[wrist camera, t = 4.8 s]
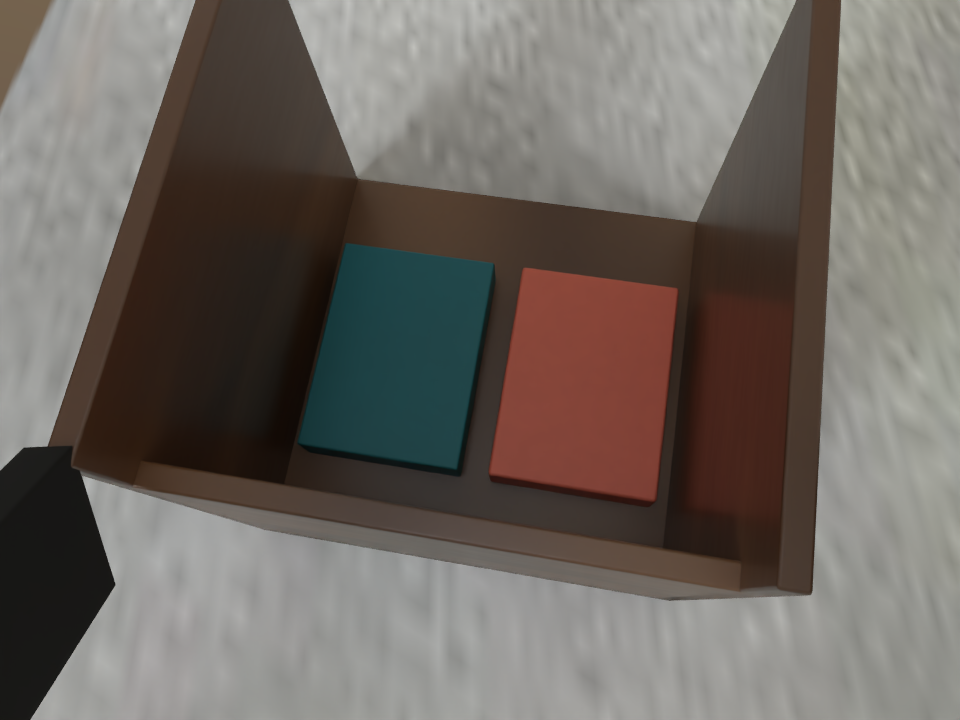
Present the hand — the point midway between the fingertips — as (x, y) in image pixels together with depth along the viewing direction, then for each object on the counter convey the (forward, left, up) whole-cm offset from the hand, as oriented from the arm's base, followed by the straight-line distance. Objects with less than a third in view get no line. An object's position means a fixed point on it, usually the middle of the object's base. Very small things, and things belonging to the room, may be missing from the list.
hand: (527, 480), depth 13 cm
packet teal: (-4, +4, -9) cm, 11 cm away
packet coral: (+1, +4, -9) cm, 10 cm away
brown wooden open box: (-1, +5, -10) cm, 11 cm away
